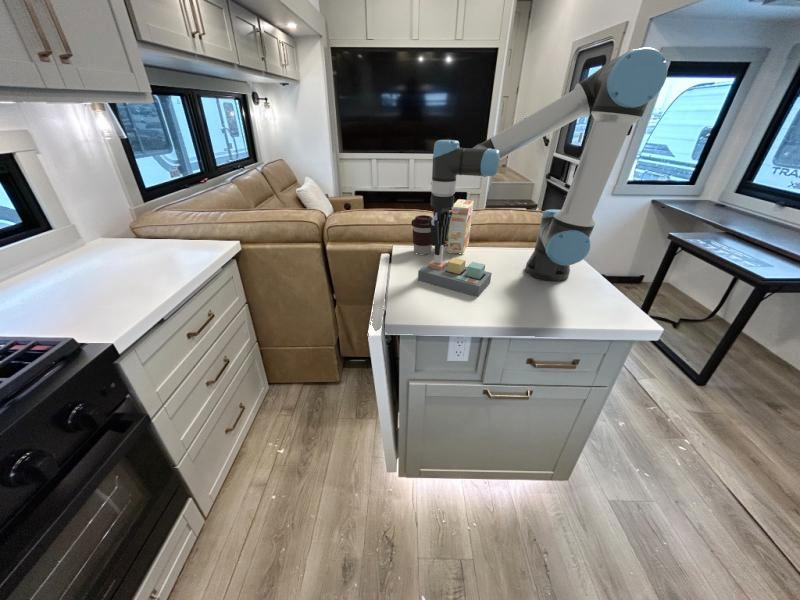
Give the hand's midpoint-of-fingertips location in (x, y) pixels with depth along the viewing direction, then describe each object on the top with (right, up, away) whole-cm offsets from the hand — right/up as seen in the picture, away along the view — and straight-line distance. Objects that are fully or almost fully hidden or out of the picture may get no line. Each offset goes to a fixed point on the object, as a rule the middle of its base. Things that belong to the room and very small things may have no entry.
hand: (437, 262), depth 115 cm
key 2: (+12, -5, -6) cm, 14 cm away
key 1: (0, -3, +2) cm, 4 cm away
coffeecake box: (+12, +9, +28) cm, 32 cm away
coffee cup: (-4, +7, +23) cm, 25 cm away
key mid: (+6, -3, -3) cm, 7 cm away
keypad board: (+5, -7, -1) cm, 9 cm away
